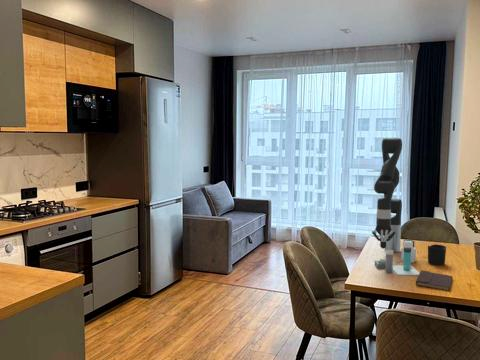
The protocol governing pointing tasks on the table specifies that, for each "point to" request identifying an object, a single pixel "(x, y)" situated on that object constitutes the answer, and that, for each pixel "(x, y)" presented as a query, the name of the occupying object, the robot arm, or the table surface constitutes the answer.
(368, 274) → the table surface
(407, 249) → the marker
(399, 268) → the sheet
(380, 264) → the button housing
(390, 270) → the grey marker
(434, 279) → the notebook
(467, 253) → the table surface
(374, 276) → the table surface
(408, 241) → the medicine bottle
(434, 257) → the pen holder
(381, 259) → the button
